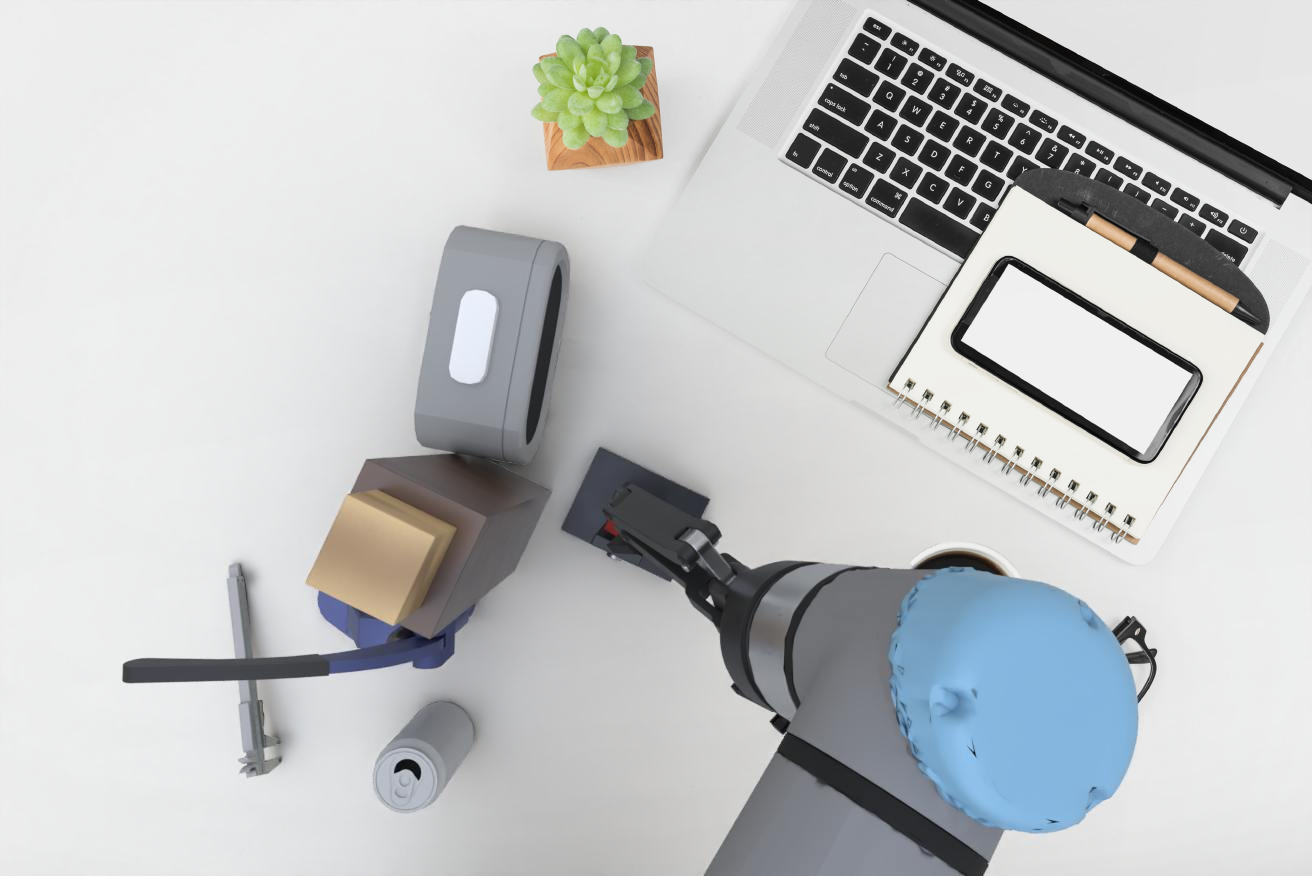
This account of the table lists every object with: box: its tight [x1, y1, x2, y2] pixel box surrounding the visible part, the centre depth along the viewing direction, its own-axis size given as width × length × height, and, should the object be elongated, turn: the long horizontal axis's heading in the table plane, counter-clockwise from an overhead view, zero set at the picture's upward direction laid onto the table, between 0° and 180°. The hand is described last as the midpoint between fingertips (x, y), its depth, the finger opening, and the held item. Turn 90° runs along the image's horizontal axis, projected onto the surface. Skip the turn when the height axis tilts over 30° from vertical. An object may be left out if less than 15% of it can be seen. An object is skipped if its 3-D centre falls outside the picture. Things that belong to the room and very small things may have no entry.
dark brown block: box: [349, 452, 553, 639], centre depth 69 cm, size 9×9×28 cm
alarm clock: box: [413, 224, 571, 466], centre depth 76 cm, size 21×10×13 cm, turn 170°
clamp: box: [121, 590, 476, 684], centre depth 69 cm, size 19×9×28 cm, turn 88°
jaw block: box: [305, 489, 457, 626], centre depth 52 cm, size 6×6×5 cm
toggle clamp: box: [560, 446, 711, 583], centre depth 75 cm, size 12×9×14 cm
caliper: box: [226, 562, 283, 779], centre depth 80 cm, size 20×1×6 cm, turn 13°
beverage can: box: [372, 701, 475, 814], centre depth 77 cm, size 6×6×12 cm
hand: (685, 607), depth 59 cm, fingers open, 13 cm apart
